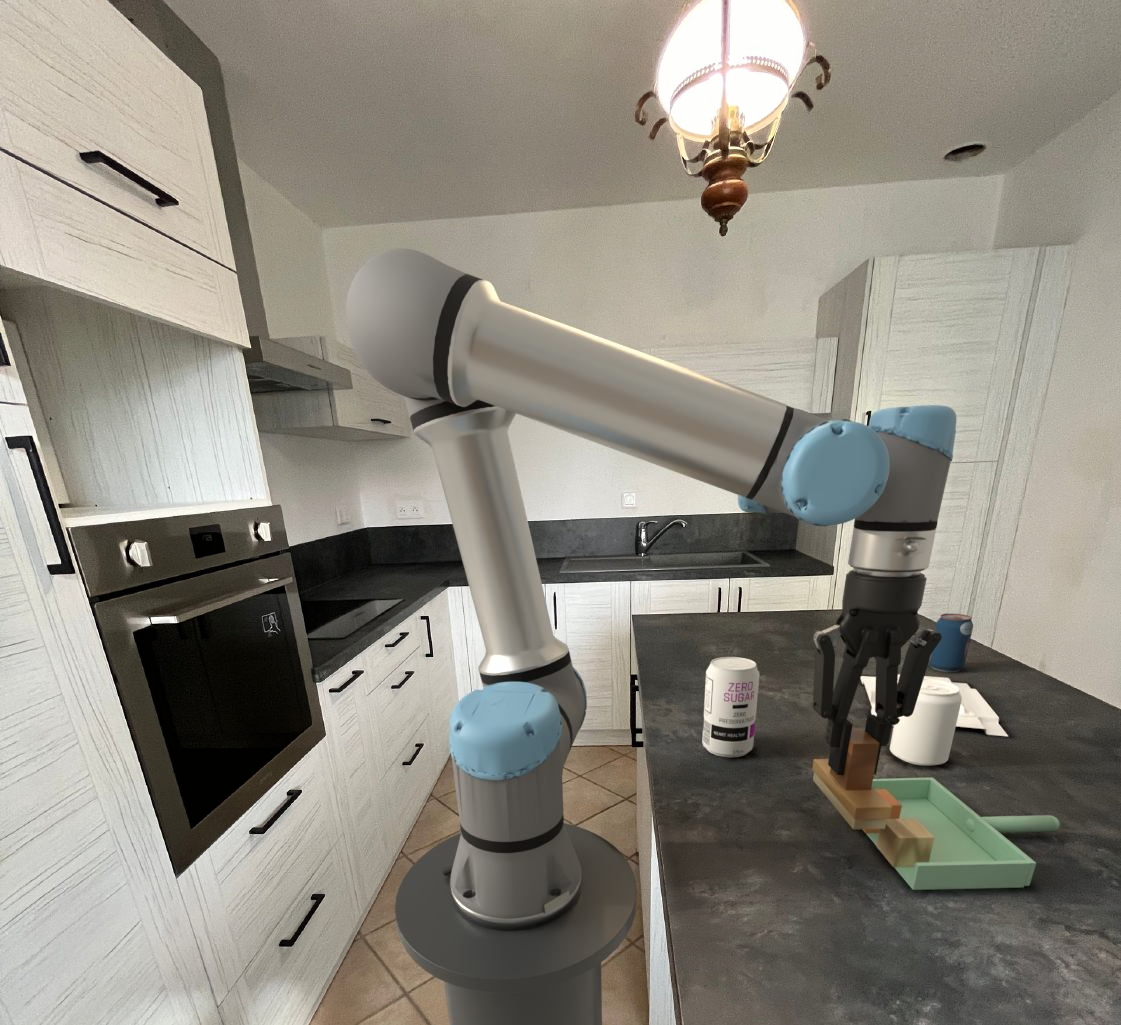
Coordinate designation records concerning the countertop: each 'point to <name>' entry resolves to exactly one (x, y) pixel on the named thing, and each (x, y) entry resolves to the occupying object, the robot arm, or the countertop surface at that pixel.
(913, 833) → the chunk
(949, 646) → the soda can
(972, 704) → the tray
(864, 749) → the brush
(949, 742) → the beverage can
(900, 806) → the chunk
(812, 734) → the countertop surface
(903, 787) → the dustpan
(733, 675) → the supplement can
